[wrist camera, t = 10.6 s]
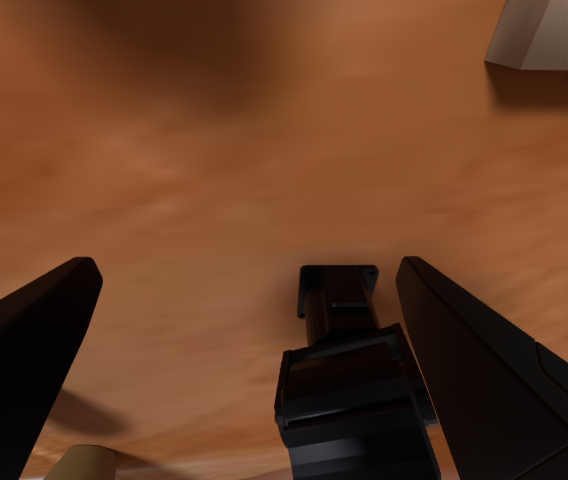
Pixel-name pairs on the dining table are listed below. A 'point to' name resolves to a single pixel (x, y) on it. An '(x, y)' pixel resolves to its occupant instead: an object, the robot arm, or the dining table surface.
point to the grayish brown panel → (531, 35)
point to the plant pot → (85, 464)
